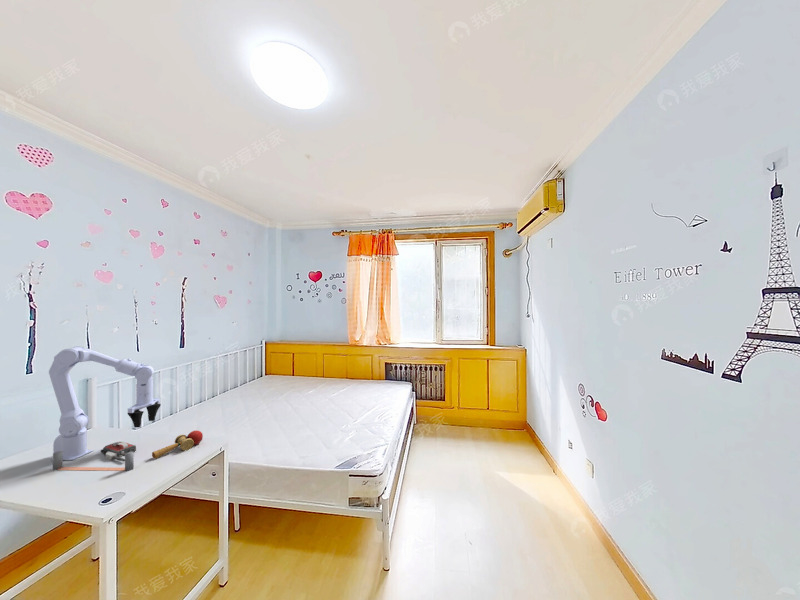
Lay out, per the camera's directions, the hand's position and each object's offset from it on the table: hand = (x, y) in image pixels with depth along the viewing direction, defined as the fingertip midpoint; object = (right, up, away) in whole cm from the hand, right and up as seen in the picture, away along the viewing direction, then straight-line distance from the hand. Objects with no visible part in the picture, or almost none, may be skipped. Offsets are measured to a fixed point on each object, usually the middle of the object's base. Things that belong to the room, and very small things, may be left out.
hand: (144, 423), depth 137 cm
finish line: (-1, -8, -22) cm, 24 cm away
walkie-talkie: (-1, -9, -11) cm, 14 cm away
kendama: (+21, -8, -7) cm, 24 cm away
